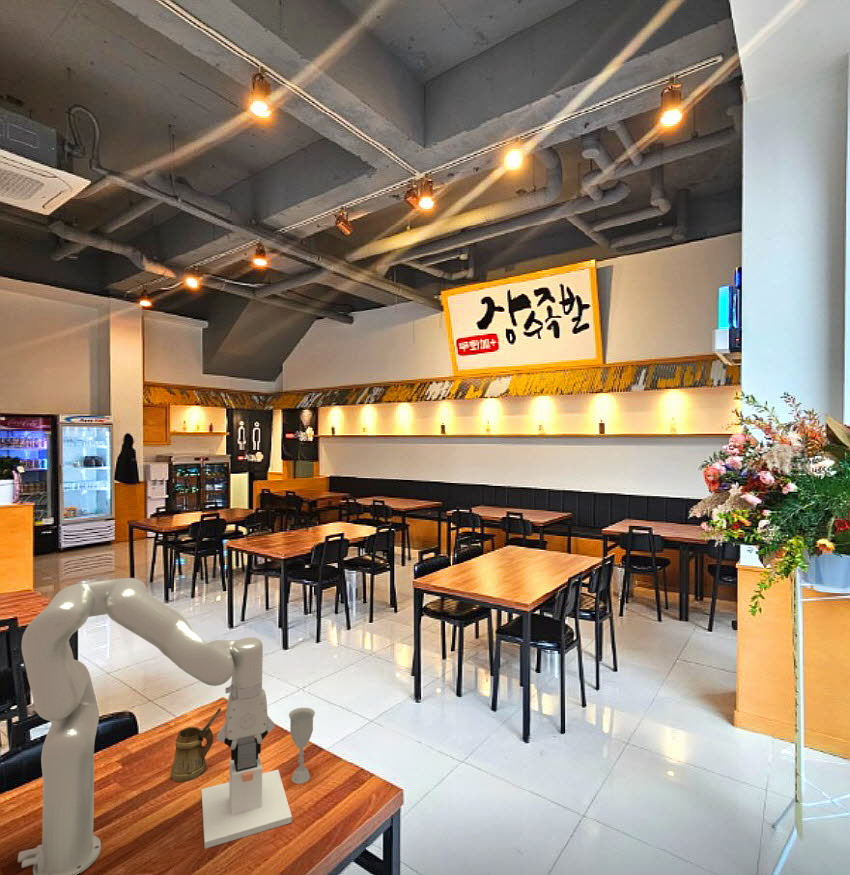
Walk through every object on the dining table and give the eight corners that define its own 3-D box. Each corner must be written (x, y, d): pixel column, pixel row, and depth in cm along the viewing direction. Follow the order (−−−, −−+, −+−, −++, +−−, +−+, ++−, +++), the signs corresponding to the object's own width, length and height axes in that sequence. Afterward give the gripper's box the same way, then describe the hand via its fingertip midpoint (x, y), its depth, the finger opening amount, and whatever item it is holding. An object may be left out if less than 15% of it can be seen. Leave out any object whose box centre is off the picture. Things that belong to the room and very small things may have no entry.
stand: (204, 848, 120) (205, 799, 120) (201, 794, 138) (202, 751, 138) (291, 822, 128) (292, 776, 128) (278, 774, 146) (278, 734, 146)
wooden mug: (214, 781, 143) (215, 716, 143) (165, 782, 143) (166, 717, 143) (225, 761, 152) (226, 700, 152) (179, 761, 152) (180, 700, 152)
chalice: (317, 770, 148) (318, 708, 148) (309, 786, 142) (310, 721, 142) (292, 768, 149) (293, 706, 149) (283, 784, 142) (284, 719, 142)
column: (236, 809, 130) (237, 746, 130) (235, 798, 134) (236, 737, 134) (255, 804, 132) (256, 742, 132) (253, 793, 136) (254, 733, 136)
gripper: (212, 702, 126) (211, 776, 126) (282, 688, 133) (281, 759, 133) (210, 688, 133) (209, 759, 133) (277, 676, 140) (276, 743, 140)
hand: (245, 758), depth 133 cm, fingers closed on column, 4 cm apart
